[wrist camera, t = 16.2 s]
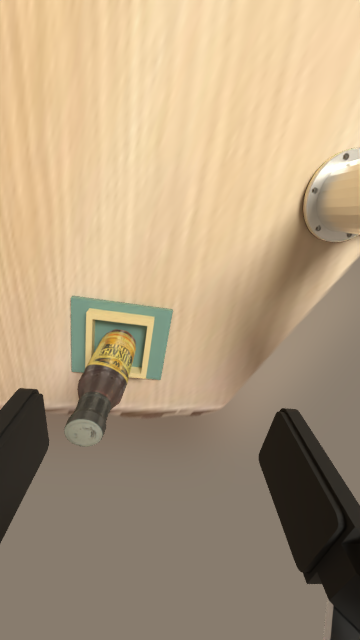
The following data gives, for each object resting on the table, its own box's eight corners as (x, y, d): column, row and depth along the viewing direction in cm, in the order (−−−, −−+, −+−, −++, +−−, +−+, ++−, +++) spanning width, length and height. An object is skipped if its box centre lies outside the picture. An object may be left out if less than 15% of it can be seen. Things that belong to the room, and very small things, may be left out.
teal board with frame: (172, 309, 42) (173, 315, 39) (160, 377, 48) (160, 386, 45) (72, 295, 39) (66, 301, 37) (73, 368, 45) (67, 378, 43)
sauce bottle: (143, 338, 43) (131, 430, 25) (124, 362, 45) (100, 463, 27) (111, 319, 41) (73, 403, 23) (93, 345, 43) (44, 441, 24)
